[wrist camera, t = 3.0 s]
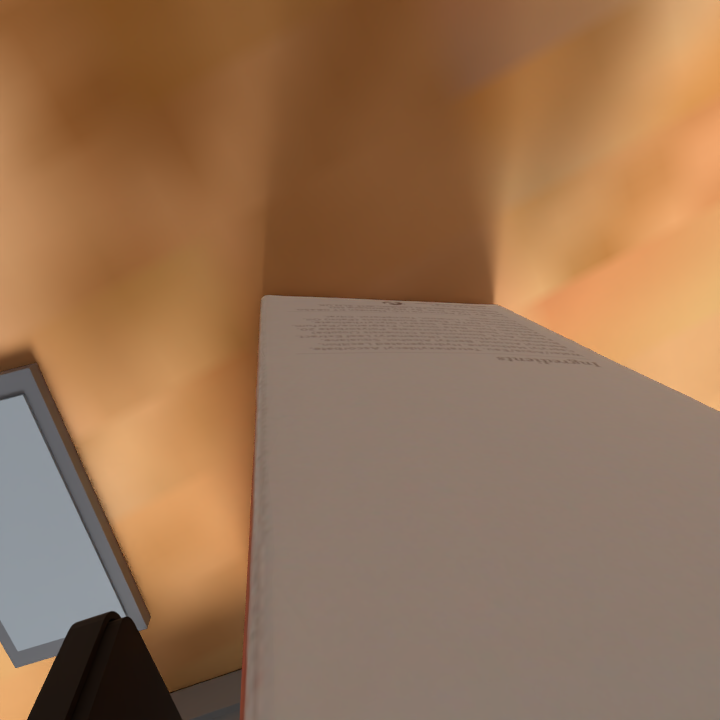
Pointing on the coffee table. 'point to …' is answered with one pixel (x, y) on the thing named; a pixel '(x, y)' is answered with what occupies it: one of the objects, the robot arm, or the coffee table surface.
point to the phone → (51, 530)
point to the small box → (473, 523)
